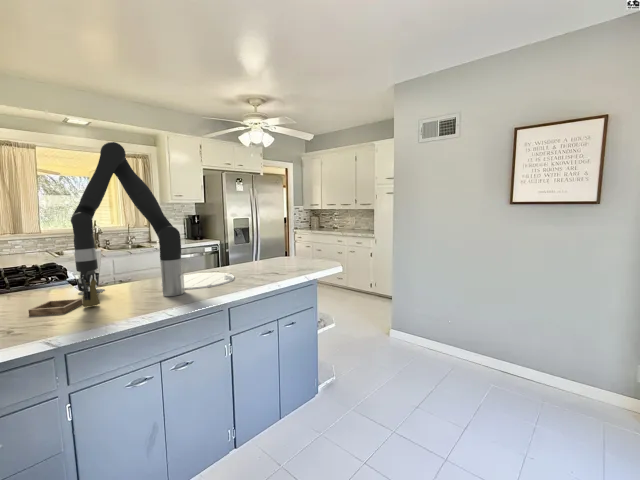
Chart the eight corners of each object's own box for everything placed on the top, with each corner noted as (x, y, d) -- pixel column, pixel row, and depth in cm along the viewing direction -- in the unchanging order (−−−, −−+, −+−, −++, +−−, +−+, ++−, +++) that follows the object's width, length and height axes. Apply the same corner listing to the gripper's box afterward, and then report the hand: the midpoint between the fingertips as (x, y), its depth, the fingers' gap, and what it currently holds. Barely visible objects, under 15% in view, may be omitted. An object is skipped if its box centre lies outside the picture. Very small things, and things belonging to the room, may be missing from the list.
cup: (91, 295, 161) (86, 252, 159) (72, 294, 164) (67, 252, 162) (110, 289, 173) (106, 249, 170) (92, 289, 175) (88, 249, 173)
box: (82, 304, 146) (82, 298, 146) (64, 313, 134) (64, 307, 133) (50, 306, 144) (49, 300, 144) (29, 315, 131) (28, 309, 131)
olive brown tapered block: (97, 301, 145) (94, 277, 144) (101, 304, 141) (99, 279, 140) (80, 305, 140) (77, 280, 139) (85, 307, 137) (82, 281, 135)
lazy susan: (244, 274, 205) (244, 268, 205) (219, 289, 167) (219, 283, 166) (184, 274, 209) (183, 269, 209) (146, 290, 171) (145, 283, 170)
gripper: (86, 261, 132) (91, 302, 134) (103, 256, 146) (108, 293, 148) (66, 262, 131) (71, 304, 133) (85, 257, 145) (90, 295, 147)
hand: (90, 298), depth 141 cm, fingers closed on olive brown tapered block, 4 cm apart
